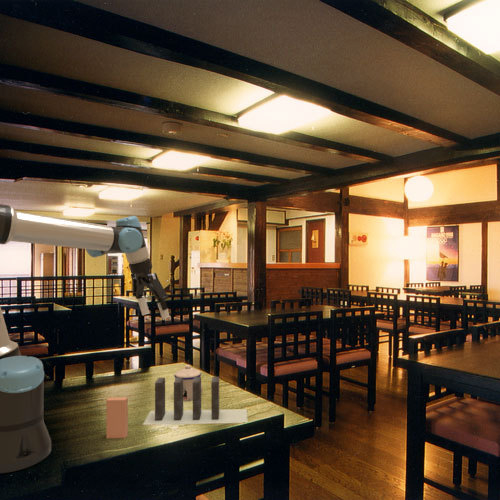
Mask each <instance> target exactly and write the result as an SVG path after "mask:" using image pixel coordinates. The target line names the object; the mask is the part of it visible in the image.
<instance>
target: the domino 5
mask: <svg viewBox="0 0 500 500" xmlns="http://www.w3.org/2000/svg"><path fill="white" fill-rule="evenodd" d="M210 382H211V384H210V385H211V392H210V394H211V400H210V401H211V403H210V404H211V410H212V420H218V419H219V410H220V376H212V378H211V381H210Z"/></svg>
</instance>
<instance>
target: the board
mask: <svg viewBox="0 0 500 500" xmlns="http://www.w3.org/2000/svg"><path fill="white" fill-rule="evenodd" d="M243 422H247V423H248V408H244V409H243V408H239V409H237V408H236V409H231V408H229V409H219V419H218V420H212V409H201V416H200V420H193V409H188V410H186V409H183V416H182V418H181V420H174V409H172V410H165V415H164V417H163V419H162V421H155V410H150V411H149V413H148V414H147V416H146V418H145V420H144V422H142V426H147V425H153V426H154V425H159V426H161V425H196V424H197V425H199V424H200V425H204V424H205V425H208V424H210V425H211V424H244V423H243Z"/></svg>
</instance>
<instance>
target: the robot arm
mask: <svg viewBox="0 0 500 500" xmlns="http://www.w3.org/2000/svg"><path fill="white" fill-rule="evenodd" d="M9 242H17V243H24V244H25V243H27V244H37V245H45V246H46V245H47V246H54V247H65V248H71V249H82V250H86V252H87V254H88V255H89V256H90V257H92V258H98V257H102V256H104V255H110V254H125V258H126V260H127V263H129V264H128V267H129V271H130V277H131V285H132V288H131V289H132V290H131V292H132V296H133V297H134V298H135V299H137V302H138V306H139V309H140V312H141V316H145V315H147V314H150V310H149V306H148V303H147V299H146V297H145V294H144V292H145V288H146V289H149V290H150V292H151V293H152V295H153V297H155V298H156V300H157V301H156V304H157V307H158V309H159V314H160V317H161V320H162V321H164V320H166V319H168V318H170V313H169V310H168V309H169V308H168V306H167V301H166V300H167V299H169V296H168V294H167V292H166V291H165V288H164V287H163V285H162V283H161V281H160V280H159V277H158V274H157V273H156V272H154V273H152V272H151V270H152V269H153V263H152V260H151V258H149V257H150V255H149V251H148V250H149V249H148V247H147V245H146V244H147V243H146V241H145V237H144V233H143V230H142V225H141V223H140V220H139V217H137V216H136V215H131V216H126V217H122V218H119V219H117V220H115V226H111V225H105V224H99V223H93V222H86V221H81V220H76V219H75V220H74V219H68V218H62V217H57V216H49V215H44V214H37V213H31V212H24V211H18V210H16V209H14V208H13V207H12V206H11V205H9V204H8V205H7V204H2V203H0V245H6V244H8V243H9ZM7 328H8V327H7V325H6V322H5V317H4V314H3V310H2V307H1V306H0V474H8V473H13V472H16V471H21V470H23V469H27V468H29V467H32V466H34V465H36V464H38V463H40V462H42V461H43V460H45V459H46V458H47V457H48V456H49V455H50V454H51V452H52V439H51V437H50V434H49V430H48V429H47V426H46V424H45V422H44V387H45V386H44V382H45V381H44V380H45V371H44V364H43V362H42V360H41V359H39V358H37V357H34V356H27V355H22V354H21V351H20V346H19V344H18V342H15V341H14V340H11V339H10V337H9V336H10V335H9V332H8V329H7Z"/></svg>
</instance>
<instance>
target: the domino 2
mask: <svg viewBox="0 0 500 500" xmlns="http://www.w3.org/2000/svg"><path fill="white" fill-rule="evenodd" d="M154 411H155V421H162V419H163V417H164V415H165V411H166V378H165V377H158V378H157V380H156V381H155V382H154Z"/></svg>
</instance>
